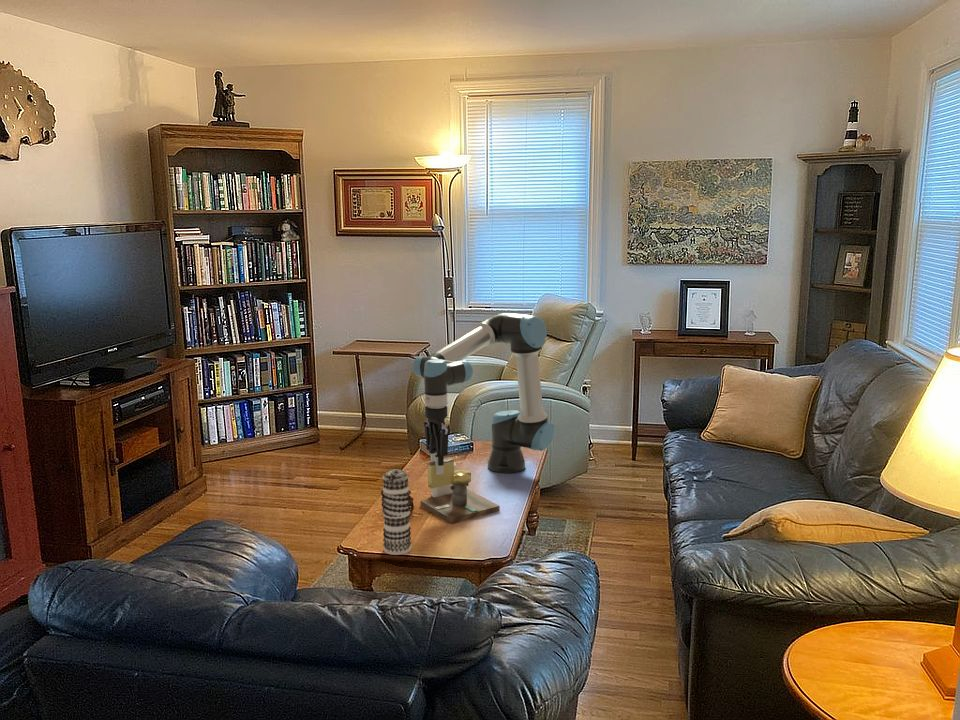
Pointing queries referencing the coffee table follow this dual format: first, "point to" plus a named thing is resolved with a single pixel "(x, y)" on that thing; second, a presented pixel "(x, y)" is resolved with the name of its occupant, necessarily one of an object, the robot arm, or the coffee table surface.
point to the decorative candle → (396, 512)
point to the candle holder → (442, 488)
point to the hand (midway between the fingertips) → (437, 472)
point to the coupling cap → (447, 475)
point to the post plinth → (459, 505)
